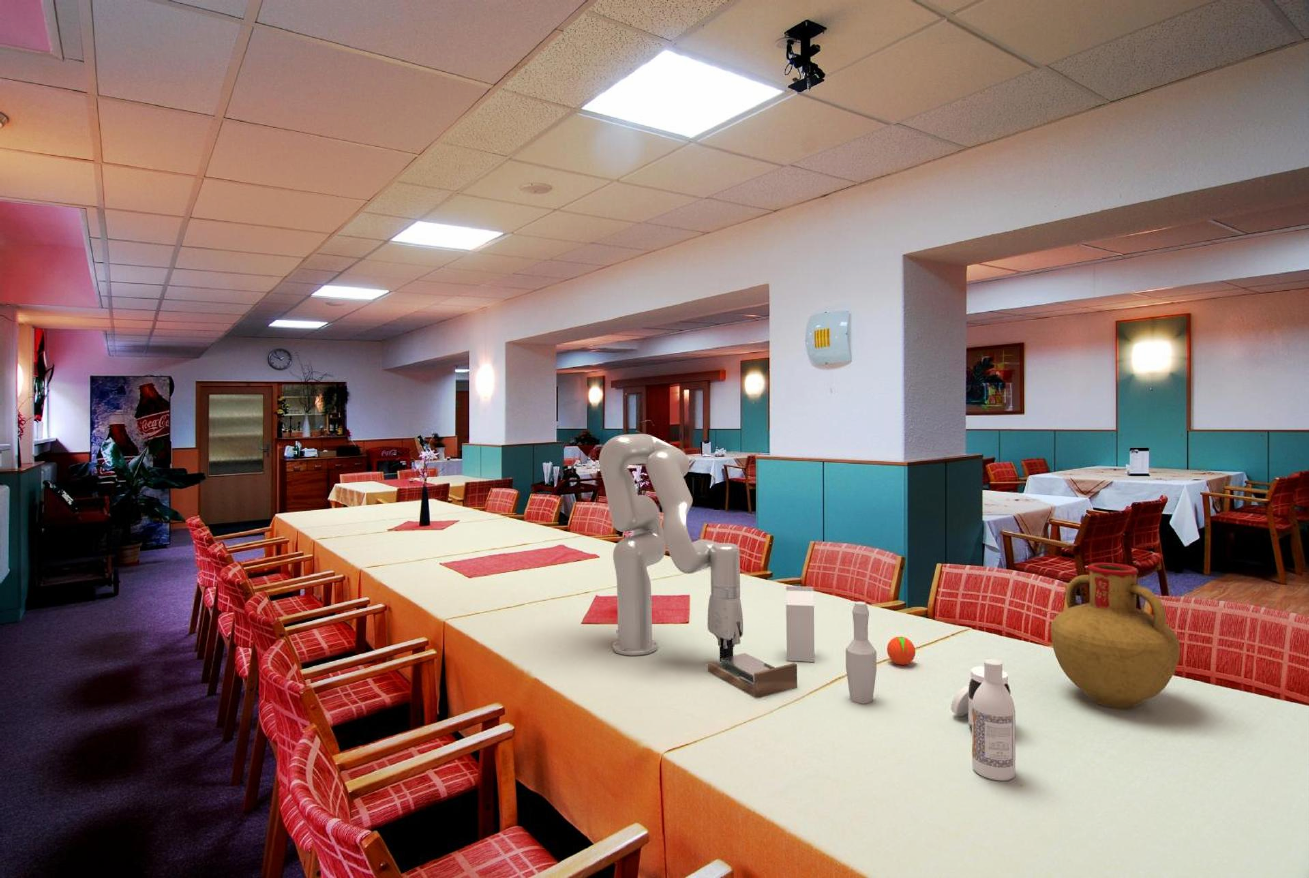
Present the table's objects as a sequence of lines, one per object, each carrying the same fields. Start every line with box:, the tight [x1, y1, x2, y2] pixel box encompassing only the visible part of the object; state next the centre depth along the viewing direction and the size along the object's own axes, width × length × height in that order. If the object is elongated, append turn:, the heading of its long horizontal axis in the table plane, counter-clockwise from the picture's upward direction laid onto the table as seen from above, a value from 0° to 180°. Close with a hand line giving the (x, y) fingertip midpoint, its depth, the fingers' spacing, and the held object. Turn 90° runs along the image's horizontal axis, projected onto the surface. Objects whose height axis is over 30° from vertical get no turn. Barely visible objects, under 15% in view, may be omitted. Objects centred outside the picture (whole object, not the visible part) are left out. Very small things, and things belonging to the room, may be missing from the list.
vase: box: [1050, 562, 1181, 709], centre depth 152 cm, size 24×24×30 cm
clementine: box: [886, 636, 916, 666], centre depth 176 cm, size 8×7×7 cm
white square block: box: [739, 661, 769, 682], centre depth 166 cm, size 8×8×4 cm
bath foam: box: [971, 658, 1016, 782], centre depth 123 cm, size 7×7×20 cm
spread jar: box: [950, 665, 1012, 729], centre depth 142 cm, size 12×11×12 cm
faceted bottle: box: [845, 601, 878, 705], centre depth 155 cm, size 6×6×22 cm
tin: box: [720, 652, 764, 677], centre depth 173 cm, size 8×8×4 cm
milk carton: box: [785, 585, 816, 663], centre depth 183 cm, size 7×7×19 cm
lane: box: [707, 662, 798, 699], centre depth 168 cm, size 20×12×6 cm, turn 30°
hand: (726, 661), depth 177 cm, fingers closed
